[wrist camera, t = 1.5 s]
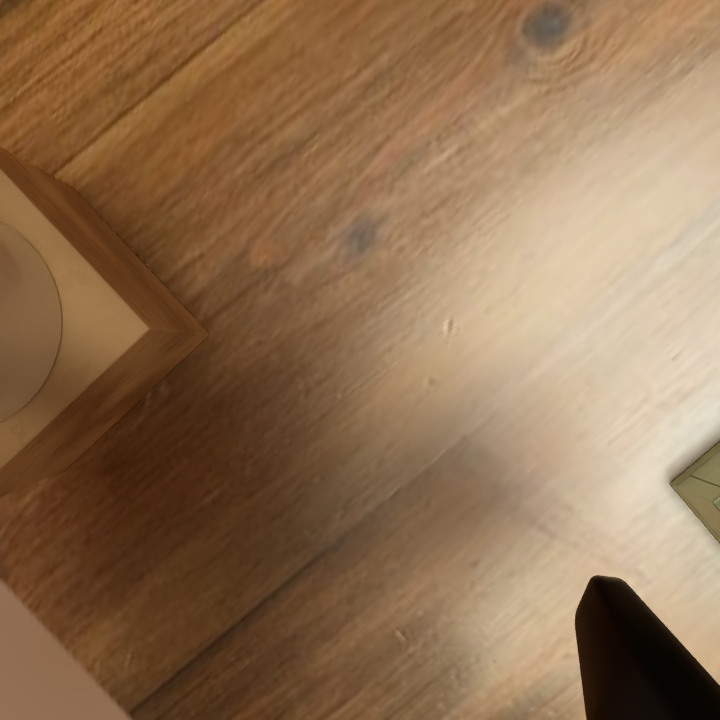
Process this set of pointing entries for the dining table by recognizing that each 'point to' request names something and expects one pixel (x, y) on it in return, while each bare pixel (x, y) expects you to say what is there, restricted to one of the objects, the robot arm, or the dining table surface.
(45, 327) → the jar
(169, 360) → the riser
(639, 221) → the dining table surface
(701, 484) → the tray
